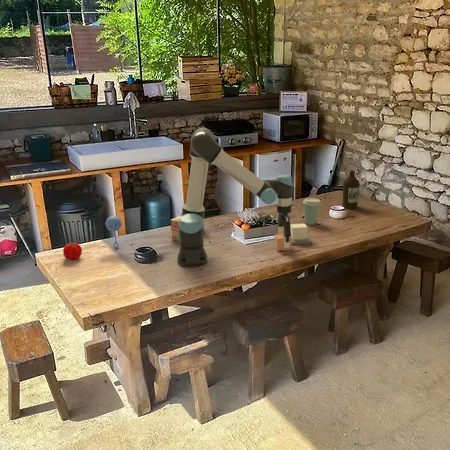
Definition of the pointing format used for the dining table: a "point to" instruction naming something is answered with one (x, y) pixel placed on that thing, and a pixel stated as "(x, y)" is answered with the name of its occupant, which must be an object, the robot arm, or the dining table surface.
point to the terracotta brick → (281, 242)
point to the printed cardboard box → (177, 228)
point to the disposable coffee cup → (311, 210)
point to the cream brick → (298, 231)
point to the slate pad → (302, 241)
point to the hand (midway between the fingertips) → (283, 242)
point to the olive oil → (350, 191)
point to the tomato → (72, 251)
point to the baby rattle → (113, 225)
